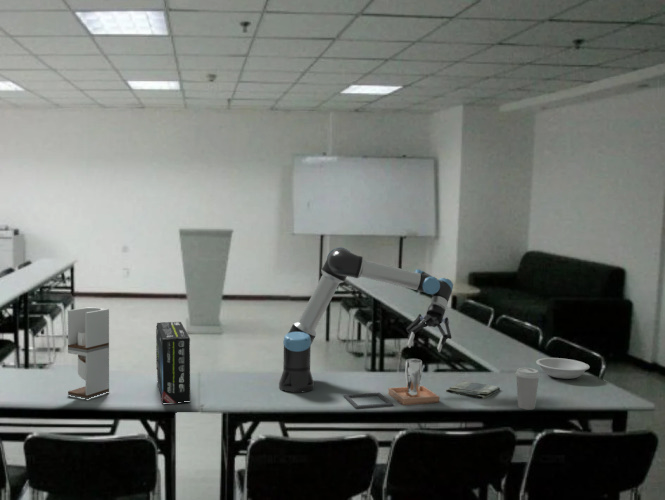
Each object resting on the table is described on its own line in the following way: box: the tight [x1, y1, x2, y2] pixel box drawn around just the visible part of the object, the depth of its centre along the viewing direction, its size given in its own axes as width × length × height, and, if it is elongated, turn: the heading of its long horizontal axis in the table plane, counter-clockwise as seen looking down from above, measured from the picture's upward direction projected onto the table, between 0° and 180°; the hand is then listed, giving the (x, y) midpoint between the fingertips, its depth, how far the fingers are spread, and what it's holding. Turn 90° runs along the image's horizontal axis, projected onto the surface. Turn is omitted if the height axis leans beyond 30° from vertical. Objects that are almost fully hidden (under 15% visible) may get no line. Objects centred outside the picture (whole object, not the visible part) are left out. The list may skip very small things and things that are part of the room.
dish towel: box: [445, 380, 501, 400], centre depth 274 cm, size 19×18×3 cm
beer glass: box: [404, 358, 423, 398], centre depth 262 cm, size 7×7×15 cm
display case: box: [67, 306, 110, 399], centre depth 256 cm, size 11×11×35 cm
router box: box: [155, 321, 191, 404], centre depth 263 cm, size 36×11×27 cm, turn 20°
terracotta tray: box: [387, 385, 440, 406], centre depth 262 cm, size 16×16×2 cm
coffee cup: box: [514, 367, 541, 411], centre depth 253 cm, size 10×10×15 cm
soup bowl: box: [535, 357, 591, 380], centre depth 301 cm, size 24×24×7 cm
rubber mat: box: [342, 392, 395, 410], centre depth 256 cm, size 16×16×1 cm
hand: (423, 348), depth 270 cm, fingers open, 13 cm apart
